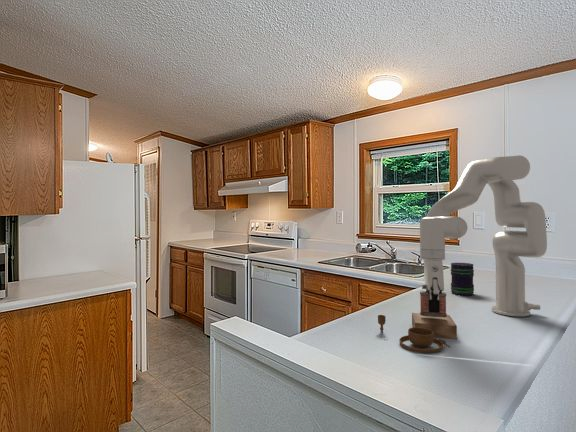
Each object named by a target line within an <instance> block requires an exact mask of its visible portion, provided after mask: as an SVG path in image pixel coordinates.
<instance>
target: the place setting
mask: <svg viewBox="0 0 576 432" xmlns="http://www.w3.org/2000/svg"><path fill="white" fill-rule="evenodd" d="M386 321H387V319H386V315H383V314H379V315H377V323H378V324H379V325H380V328H379V330H380V333H381V332H382V333H384V325H385V324H386ZM382 333H381V334H382ZM407 333H408V334H407V335H403V336H400V338H399V344H400V346H401V347H402V348H403V349H406V350H408V351H411V352H414V353H419V354H436V353H440V352H441V351H442V350H443V349H444V345H445V346H446V347H448V348H452V347H451V346H450V345H449V344H447V341H446V340H444V339H443V338H438V339H437V338H436V337H434V332H433V331H432V330H429V329H426V328H419V327H415V328H413V327H410V328H409V329H408V330H407ZM384 341H389V339H384ZM406 341H409V342H410V343H411V344H413V346H414V347H413V346H411V345H407V344H406V343H404V342H406ZM432 344H435V345H437V346H439V347H438V348H436V347H435V348H432V349H431V348H429V349H427V348H428V347H429V346H431V345H432Z"/></svg>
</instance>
